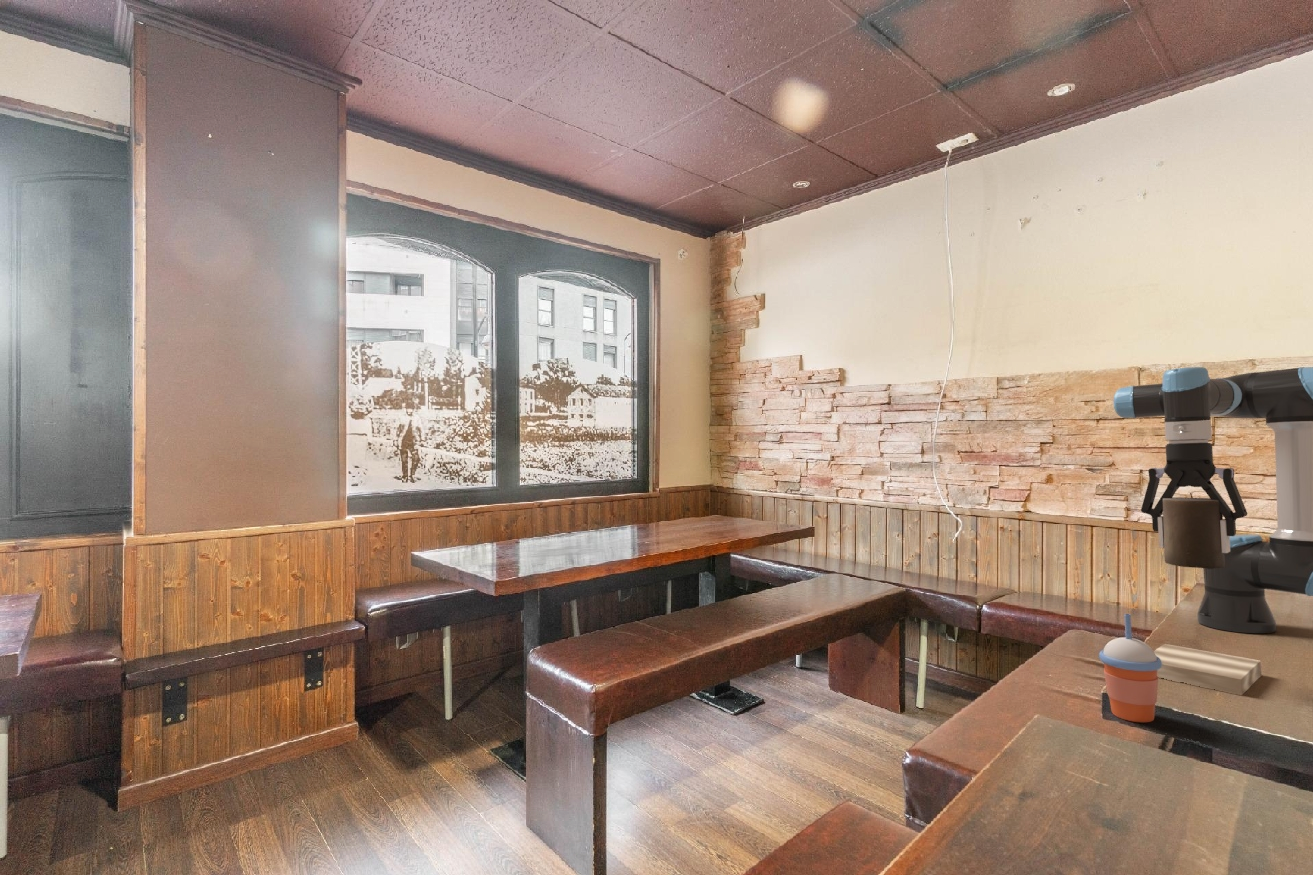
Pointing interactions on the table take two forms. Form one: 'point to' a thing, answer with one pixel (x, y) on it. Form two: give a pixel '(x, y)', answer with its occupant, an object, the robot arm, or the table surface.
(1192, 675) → the wooden block
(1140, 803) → the table surface
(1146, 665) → the cup with straw
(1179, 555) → the pillar candle
